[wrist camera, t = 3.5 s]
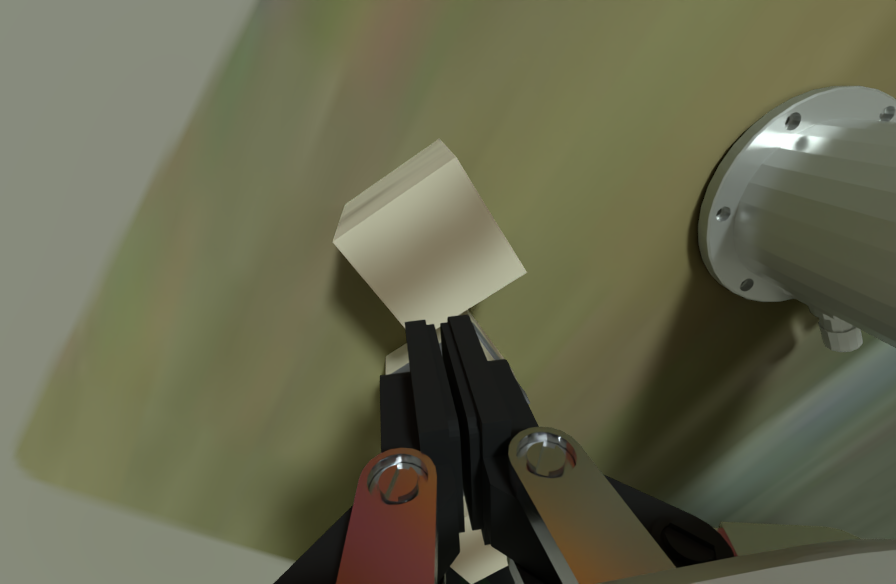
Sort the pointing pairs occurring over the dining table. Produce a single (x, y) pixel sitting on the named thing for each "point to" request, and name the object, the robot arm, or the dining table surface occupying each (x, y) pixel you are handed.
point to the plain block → (426, 240)
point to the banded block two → (476, 554)
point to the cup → (500, 580)
